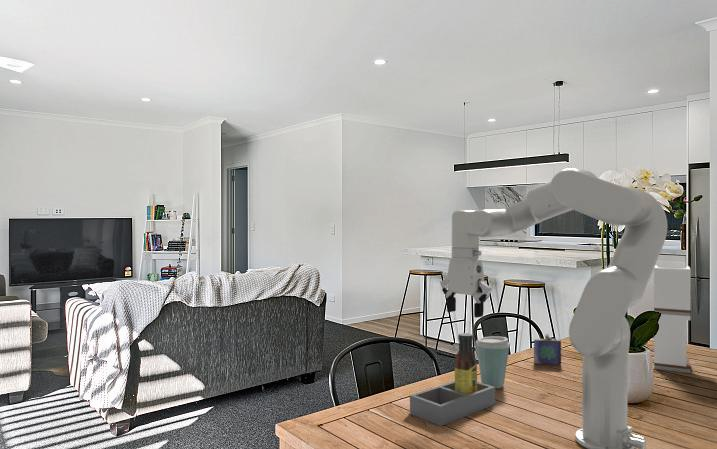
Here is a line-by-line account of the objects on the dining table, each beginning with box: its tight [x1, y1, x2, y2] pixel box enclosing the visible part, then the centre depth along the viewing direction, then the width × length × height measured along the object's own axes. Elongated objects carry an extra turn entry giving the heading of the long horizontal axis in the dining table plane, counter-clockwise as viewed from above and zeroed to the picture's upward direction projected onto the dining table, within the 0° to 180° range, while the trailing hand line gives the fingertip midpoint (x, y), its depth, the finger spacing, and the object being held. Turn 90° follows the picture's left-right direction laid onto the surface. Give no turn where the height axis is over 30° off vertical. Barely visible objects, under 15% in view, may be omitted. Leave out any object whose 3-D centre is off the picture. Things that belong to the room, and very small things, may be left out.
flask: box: [533, 333, 562, 367], centre depth 186 cm, size 9×3×11 cm, turn 76°
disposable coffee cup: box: [475, 335, 511, 389], centre depth 163 cm, size 11×11×15 cm
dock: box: [409, 380, 496, 427], centre depth 143 cm, size 11×23×5 cm, turn 130°
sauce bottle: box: [454, 332, 478, 395], centre depth 147 cm, size 7×6×20 cm
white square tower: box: [653, 264, 692, 374], centre depth 182 cm, size 11×11×35 cm
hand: (464, 314), depth 147 cm, fingers open, 9 cm apart
